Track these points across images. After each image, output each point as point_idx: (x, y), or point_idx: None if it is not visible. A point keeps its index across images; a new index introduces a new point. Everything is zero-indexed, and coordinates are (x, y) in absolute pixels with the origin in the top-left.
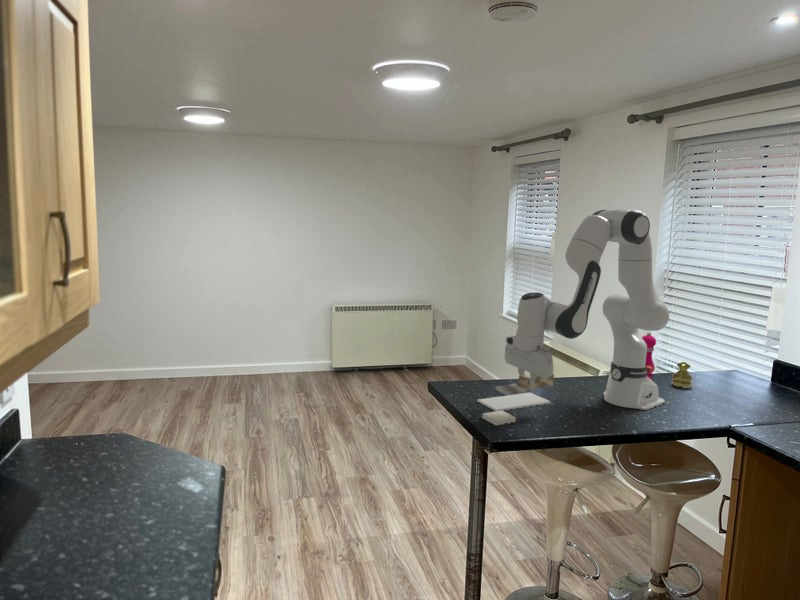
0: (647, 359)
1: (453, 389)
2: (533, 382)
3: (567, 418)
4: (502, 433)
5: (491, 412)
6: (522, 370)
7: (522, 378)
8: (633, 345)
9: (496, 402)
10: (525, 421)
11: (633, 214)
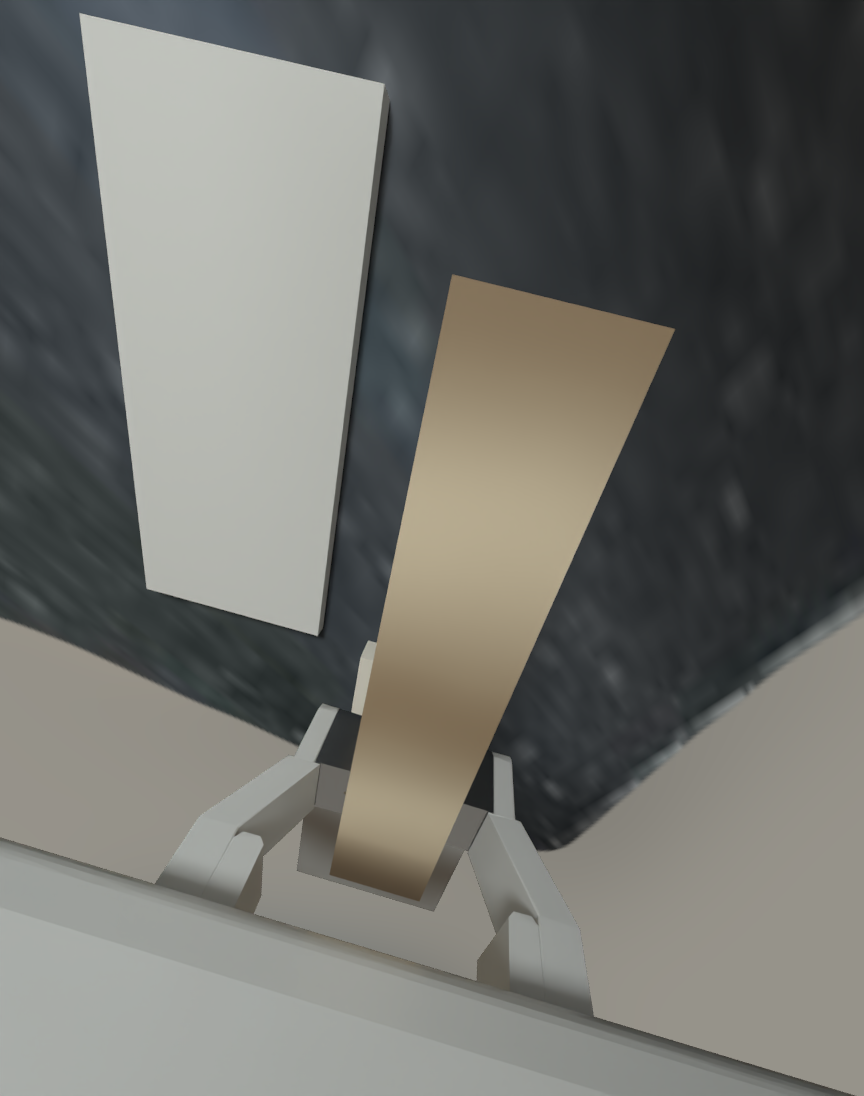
0: None
1: None
2: (506, 796)
3: (694, 350)
4: (522, 796)
5: (355, 713)
6: (257, 888)
7: (399, 886)
8: None
9: (222, 543)
10: None
11: None
